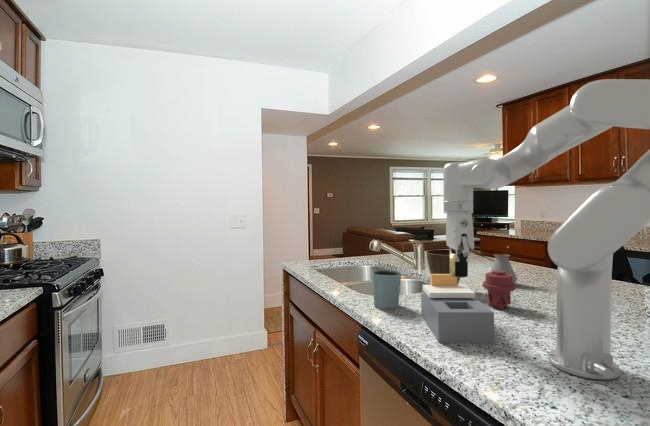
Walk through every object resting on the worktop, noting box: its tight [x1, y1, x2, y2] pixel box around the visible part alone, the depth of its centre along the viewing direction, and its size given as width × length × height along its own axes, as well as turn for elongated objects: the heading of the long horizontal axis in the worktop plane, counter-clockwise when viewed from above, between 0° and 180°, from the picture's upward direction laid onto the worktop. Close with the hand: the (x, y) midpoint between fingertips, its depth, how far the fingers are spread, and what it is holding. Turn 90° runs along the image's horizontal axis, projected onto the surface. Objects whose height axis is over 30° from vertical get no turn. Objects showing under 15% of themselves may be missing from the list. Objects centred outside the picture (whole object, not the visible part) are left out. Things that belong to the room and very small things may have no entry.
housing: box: [420, 290, 495, 344], centre depth 100 cm, size 22×14×8 cm, turn 176°
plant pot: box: [425, 248, 462, 285], centre depth 141 cm, size 15×15×16 cm
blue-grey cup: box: [371, 269, 402, 311], centre depth 123 cm, size 10×10×12 cm
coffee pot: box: [469, 249, 518, 284], centre depth 154 cm, size 21×12×15 cm, turn 50°
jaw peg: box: [450, 253, 463, 279], centre depth 95 cm, size 4×4×6 cm
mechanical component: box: [482, 270, 516, 311], centre depth 119 cm, size 12×10×10 cm
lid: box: [422, 273, 476, 298], centre depth 106 cm, size 10×13×5 cm
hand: (458, 273), depth 95 cm, fingers closed on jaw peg, 4 cm apart
